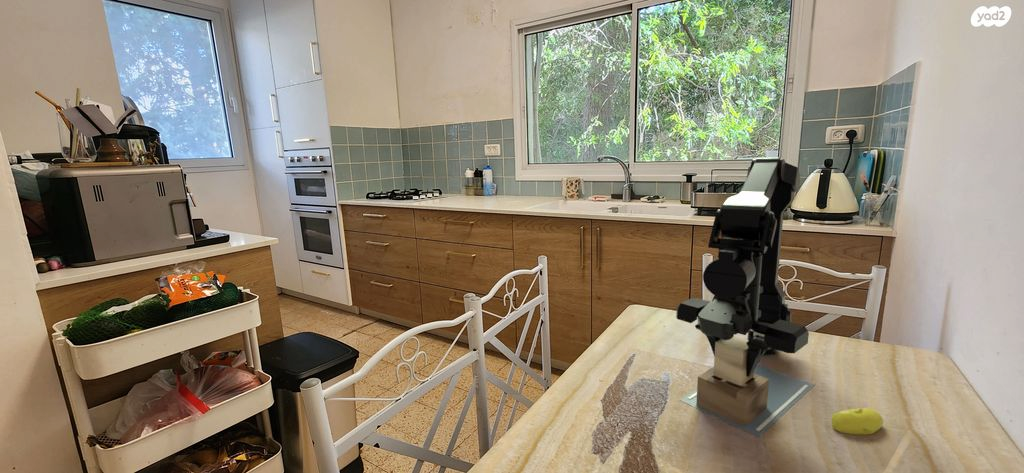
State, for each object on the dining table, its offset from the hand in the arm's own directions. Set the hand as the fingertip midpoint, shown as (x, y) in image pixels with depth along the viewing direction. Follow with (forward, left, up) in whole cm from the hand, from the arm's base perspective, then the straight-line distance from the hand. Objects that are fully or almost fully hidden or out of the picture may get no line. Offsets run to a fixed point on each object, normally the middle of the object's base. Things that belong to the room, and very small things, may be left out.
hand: (733, 370), depth 71 cm
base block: (0, 0, -6) cm, 7 cm away
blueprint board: (-6, 0, -7) cm, 10 cm away
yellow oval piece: (-9, +15, -8) cm, 19 cm away
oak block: (0, 0, -1) cm, 1 cm away
